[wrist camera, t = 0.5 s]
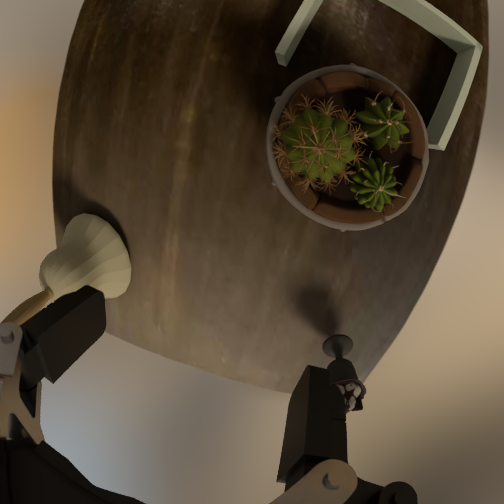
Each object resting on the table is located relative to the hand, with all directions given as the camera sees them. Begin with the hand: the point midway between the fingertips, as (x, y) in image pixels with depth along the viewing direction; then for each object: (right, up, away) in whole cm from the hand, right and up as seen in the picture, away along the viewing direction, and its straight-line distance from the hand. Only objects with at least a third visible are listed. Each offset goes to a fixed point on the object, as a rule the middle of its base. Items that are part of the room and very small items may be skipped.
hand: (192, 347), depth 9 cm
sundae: (+16, -12, +32) cm, 38 cm away
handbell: (-23, +3, +32) cm, 40 cm away
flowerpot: (+12, +16, +20) cm, 29 cm away
